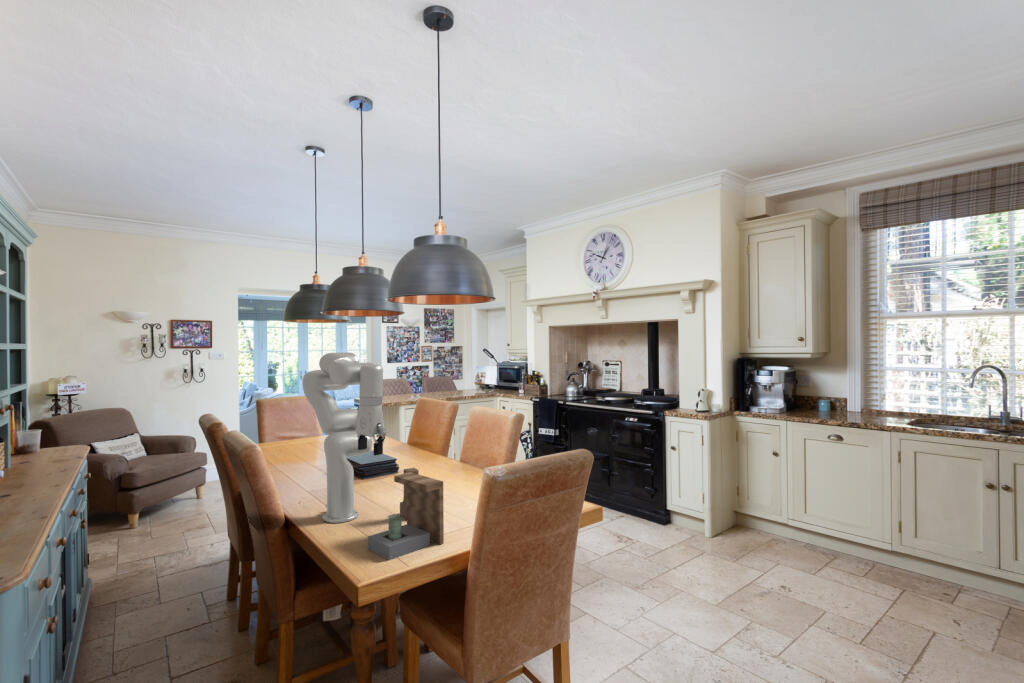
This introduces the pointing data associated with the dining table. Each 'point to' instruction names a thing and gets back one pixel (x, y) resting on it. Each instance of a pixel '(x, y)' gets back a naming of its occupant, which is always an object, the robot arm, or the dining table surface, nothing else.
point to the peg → (394, 527)
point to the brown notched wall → (424, 504)
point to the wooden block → (404, 504)
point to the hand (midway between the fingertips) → (370, 451)
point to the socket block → (399, 542)
